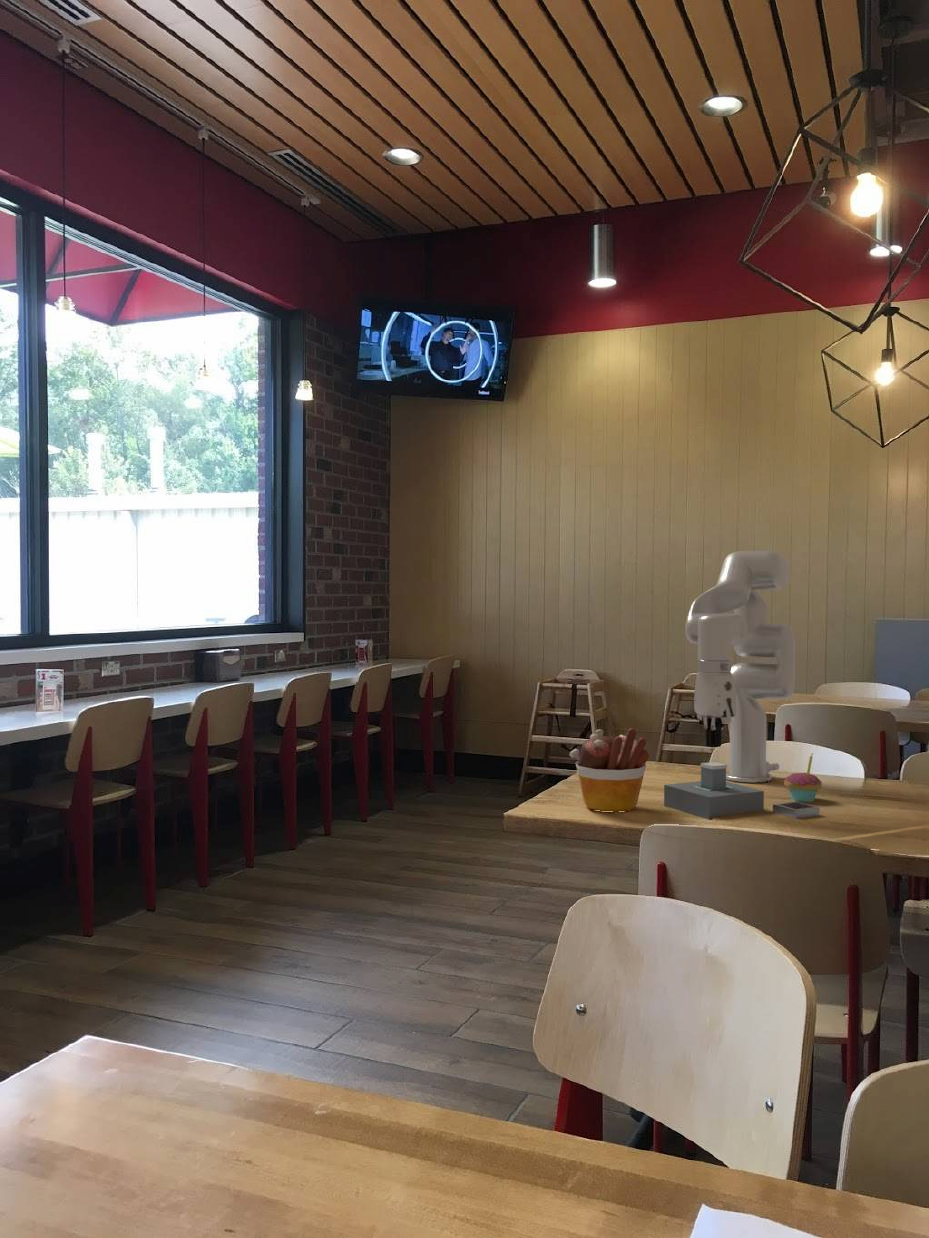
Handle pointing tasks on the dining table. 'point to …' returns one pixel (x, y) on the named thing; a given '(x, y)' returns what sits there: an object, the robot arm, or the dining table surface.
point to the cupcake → (803, 785)
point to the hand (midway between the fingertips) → (713, 746)
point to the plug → (713, 776)
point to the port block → (712, 799)
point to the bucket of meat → (611, 770)
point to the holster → (796, 809)
